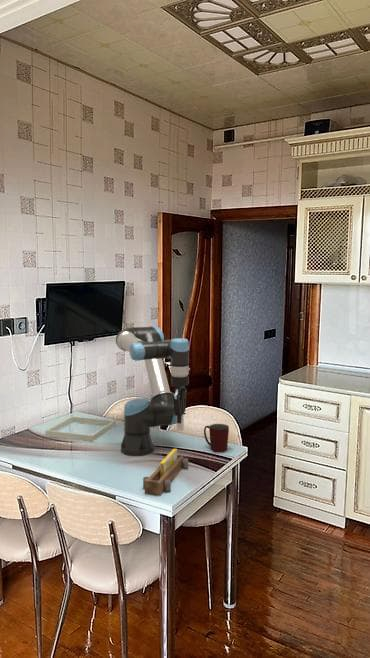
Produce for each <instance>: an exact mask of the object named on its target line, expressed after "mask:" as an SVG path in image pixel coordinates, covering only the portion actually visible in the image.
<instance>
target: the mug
mask: <svg viewBox="0 0 370 658" xmlns="http://www.w3.org/2000/svg"><path fill="white" fill-rule="evenodd" d="M229 426H230V425H228V424H225V423H213V424H210V425H205V426H204V429H203V437H204V439H205V441H206V443H207V445H208V446H209V447H210V450H211V452H213V453H217V452H222V453H225V451H226V452H227V451H228V443H229V432H230V431H229V429H230V427H229ZM207 429H208V430H209V439H208V437H207Z"/></svg>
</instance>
